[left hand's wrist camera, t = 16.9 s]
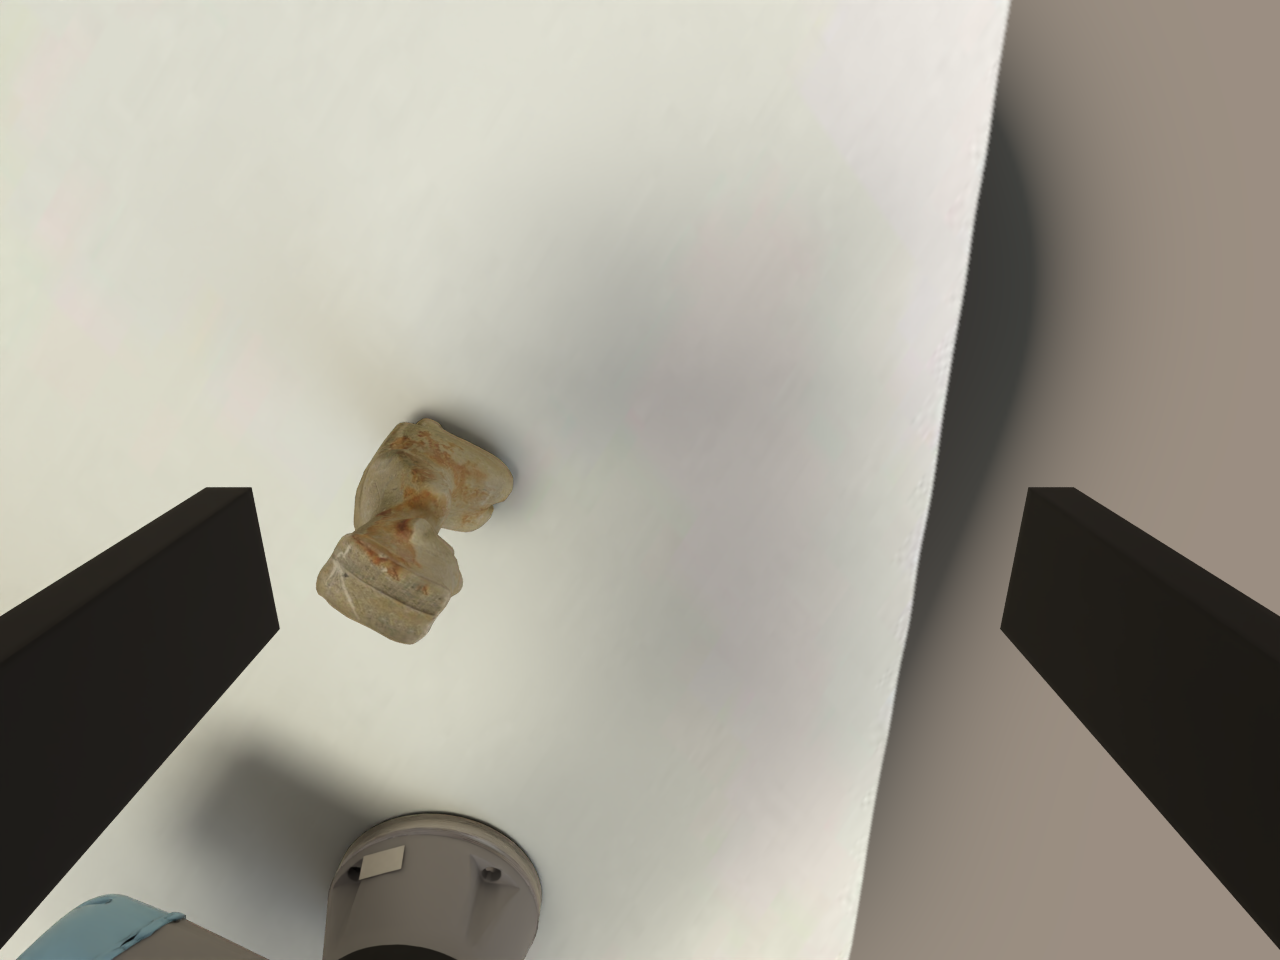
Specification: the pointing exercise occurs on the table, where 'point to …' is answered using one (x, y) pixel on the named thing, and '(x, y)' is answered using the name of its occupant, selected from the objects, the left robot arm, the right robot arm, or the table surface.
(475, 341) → the table surface
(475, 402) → the table surface
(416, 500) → the sculpture
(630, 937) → the table surface
